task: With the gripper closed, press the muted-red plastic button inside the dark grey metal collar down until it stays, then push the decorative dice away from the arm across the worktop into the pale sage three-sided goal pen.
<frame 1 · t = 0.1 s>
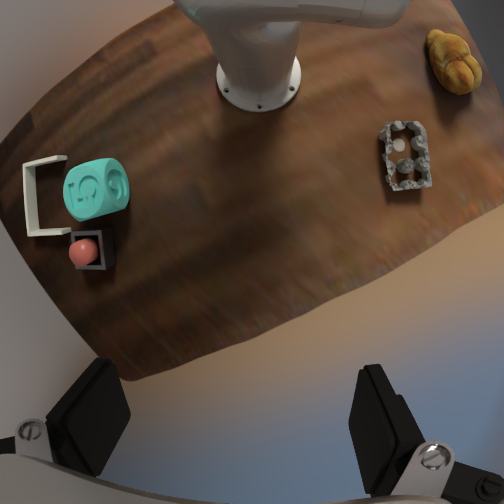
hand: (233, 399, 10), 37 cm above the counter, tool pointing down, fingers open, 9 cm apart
goal pen: (50, 195, 46), on the counter
decorative dice: (109, 188, 46), on the counter
bread roll: (445, 65, 37), on the counter
egg carton: (400, 155, 42), on the counter
button collar: (98, 245, 48), on the counter
button: (84, 251, 43), point 5 cm above the counter, slide at 0.0 cm
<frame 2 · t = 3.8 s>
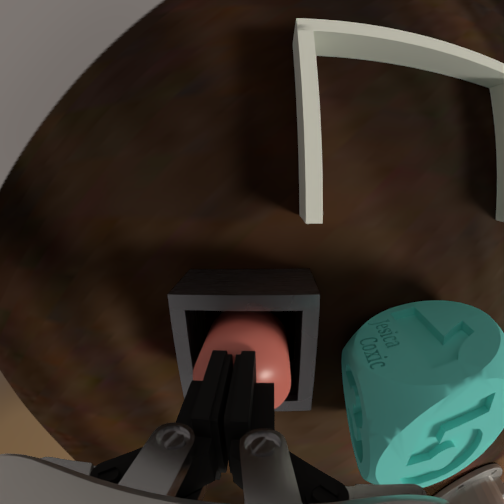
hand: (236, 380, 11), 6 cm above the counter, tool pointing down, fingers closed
goal pen: (419, 135, 14), on the counter
decorative dice: (399, 356, 17), on the counter
button collar: (250, 323, 17), on the counter
button: (244, 360, 13), point 4 cm above the counter, slide at 1.0 cm, touching gripper
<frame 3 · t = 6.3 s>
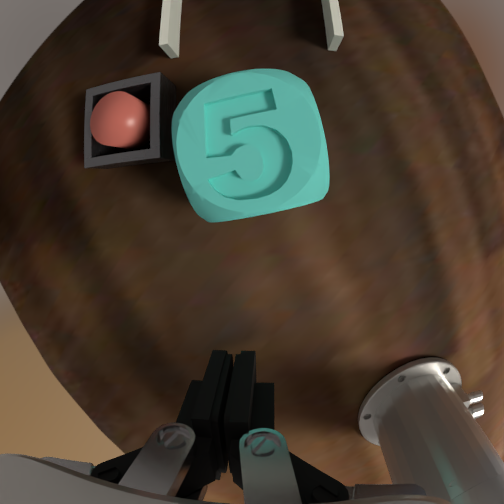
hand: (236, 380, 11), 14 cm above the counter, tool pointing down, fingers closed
goal pen: (250, 8, 20), on the counter
decorative dice: (255, 153, 23), on the counter
button collar: (140, 127, 23), on the counter
button: (123, 121, 20), point 3 cm above the counter, slide at 1.7 cm
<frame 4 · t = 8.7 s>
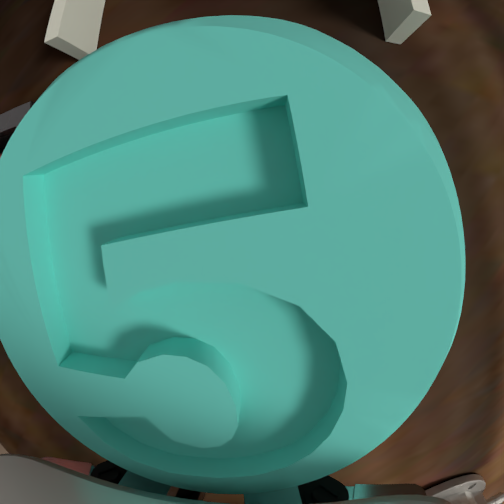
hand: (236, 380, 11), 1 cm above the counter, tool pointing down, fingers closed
decorative dice: (238, 229, 12), on the counter, touching gripper
button collar: (37, 195, 12), on the counter
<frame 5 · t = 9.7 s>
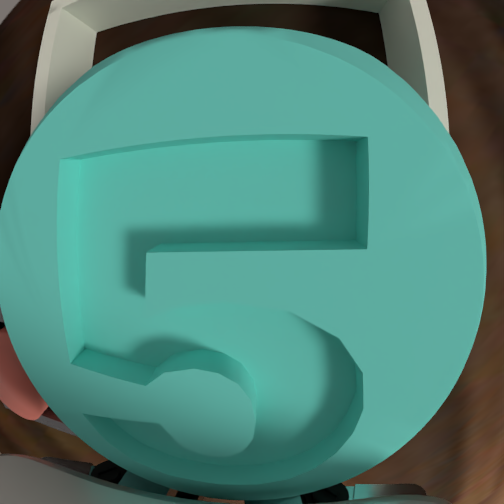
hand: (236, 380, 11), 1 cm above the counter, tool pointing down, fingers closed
goal pen: (231, 91, 10), on the counter
decorative dice: (250, 233, 12), on the counter, touching gripper
button collar: (60, 335, 13), on the counter
button: (27, 363, 10), point 3 cm above the counter, slide at 1.7 cm
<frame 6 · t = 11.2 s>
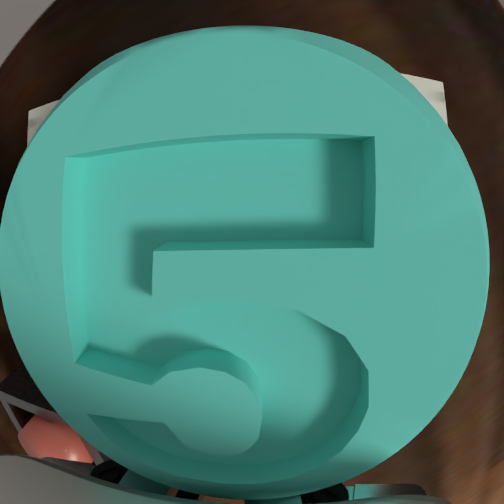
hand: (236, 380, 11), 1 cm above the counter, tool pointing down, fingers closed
goal pen: (232, 222, 11), on the counter
decorative dice: (252, 233, 12), on the counter, touching gripper
button collar: (85, 407, 14), on the counter
button: (62, 439, 11), point 3 cm above the counter, slide at 1.7 cm
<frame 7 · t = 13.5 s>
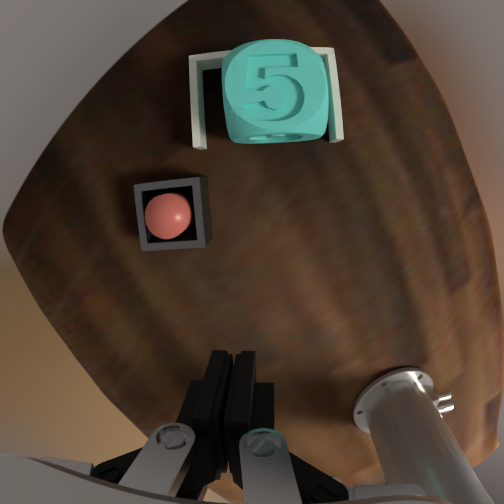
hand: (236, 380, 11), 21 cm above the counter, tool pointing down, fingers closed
goal pen: (265, 101, 28), on the counter
decorative dice: (272, 105, 28), on the counter
button collar: (179, 210, 31), on the counter
button: (170, 214, 28), point 3 cm above the counter, slide at 1.7 cm
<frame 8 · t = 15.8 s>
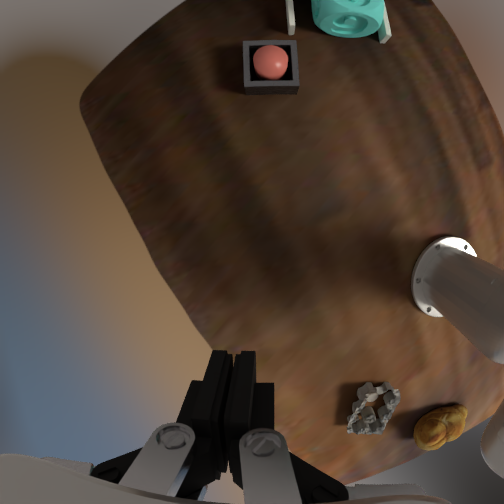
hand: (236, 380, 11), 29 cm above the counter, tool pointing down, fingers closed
goal pen: (334, 12, 31), on the counter
decorative dice: (339, 16, 32), on the counter
bread roll: (436, 417, 47), on the counter
egg carton: (369, 402, 46), on the counter
button collar: (270, 72, 34), on the counter
button: (270, 64, 31), point 3 cm above the counter, slide at 1.7 cm
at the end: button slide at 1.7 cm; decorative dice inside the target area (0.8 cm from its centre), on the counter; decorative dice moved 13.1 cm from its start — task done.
